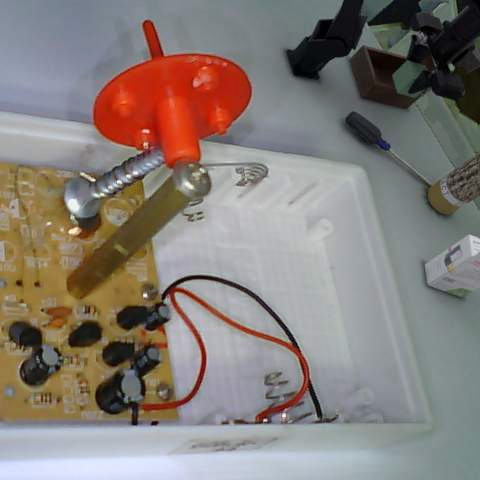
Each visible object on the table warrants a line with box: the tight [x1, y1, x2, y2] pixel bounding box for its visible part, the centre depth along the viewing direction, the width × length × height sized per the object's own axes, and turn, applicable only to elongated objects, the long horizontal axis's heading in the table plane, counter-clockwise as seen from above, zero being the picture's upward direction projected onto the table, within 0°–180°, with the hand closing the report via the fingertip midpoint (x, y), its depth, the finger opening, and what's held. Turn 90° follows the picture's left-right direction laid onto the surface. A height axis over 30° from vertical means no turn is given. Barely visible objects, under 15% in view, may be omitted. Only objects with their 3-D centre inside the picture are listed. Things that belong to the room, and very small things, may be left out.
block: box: [392, 60, 427, 98], centre depth 154 cm, size 5×5×5 cm
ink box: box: [424, 234, 480, 298], centre depth 142 cm, size 9×5×15 cm, turn 84°
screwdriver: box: [344, 110, 434, 188], centre depth 158 cm, size 26×4×4 cm, turn 65°
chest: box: [349, 44, 423, 110], centre depth 168 cm, size 13×11×5 cm
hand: (406, 83), depth 155 cm, fingers closed on block, 4 cm apart
